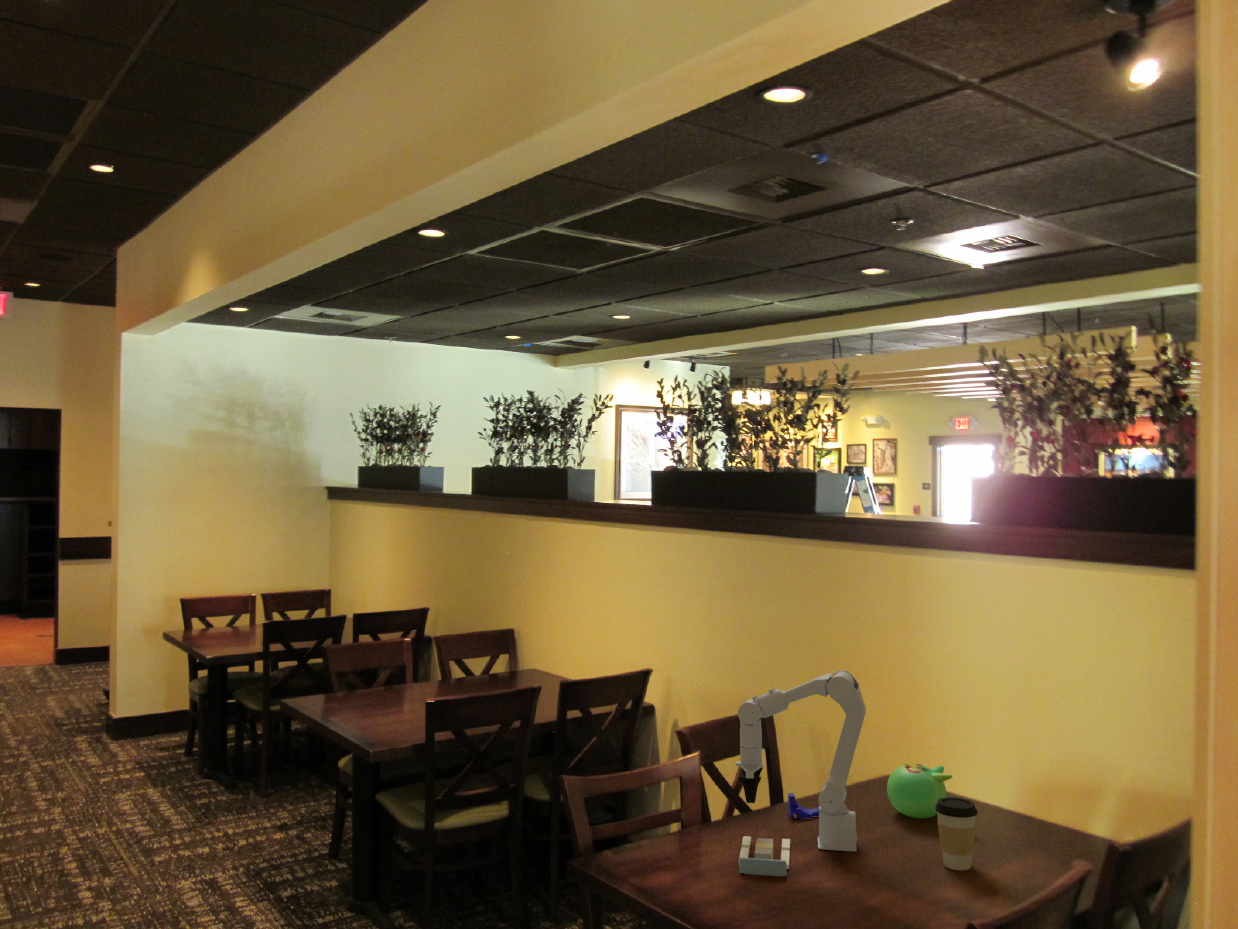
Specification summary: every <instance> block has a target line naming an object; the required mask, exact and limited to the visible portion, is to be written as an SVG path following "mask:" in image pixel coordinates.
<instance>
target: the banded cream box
mask: <svg viewBox="0 0 1238 929" xmlns="http://www.w3.org/2000/svg"><path fill="white" fill-rule="evenodd" d="M754 848H755V849H754V858H758V859H773V860H774V838H764V837H761V838H760V837H757V838H756V843H755V847H754Z"/></svg>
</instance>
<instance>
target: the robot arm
mask: <svg viewBox="0 0 1238 929" xmlns="http://www.w3.org/2000/svg"><path fill="white" fill-rule="evenodd" d="M815 695H819V696H821V697H824V698H827V697H828V695H829V697H830V698H831V699H832V700H833V701H835V703H837V704H838V705H839V706H840V708H842V711H843V712H844V713H845V718H844V721H843V726H842V728H841V732H840V736H839V740H838V743H837V747H836V749H835V750H836V751H835V753H834V758H833V761H832V764H831V768H830V771H829V773H828V774H829V775H828V777H827V780H826V781H825V782H824V783H823V786H822V790H821V792H820V793H819V795H818V804H819V805H818V806H819V817H818V832H819V835H818V836H817V849H818V850H825V851H840V852H841V851H843V852H857V842H858V834H857V820H856V819H857V818H856V811H854V810H849V808H848V807H847V805H846V804H845V800H846V798H847V796H848V788H847V781H848V778H849V775H850V770H851V767H852V762H853V760H854V755H855V753H856V749H857V744H858V742H859V737H860V734H861V731H862V727H863V724H864V721H865V720H864V719H865V717H866V713H867V708H866V704H865V702H864V697H863V696H862V692H861V688H860V684H859V681H858V680H857V679H856V678H855V676H854V675H853V674H852V673H851V672H849V671H847V670H842V669H841V670H837V671H836V672H834V673H833V672H830V673H827V674H824V675H820V676H817V677H816V678H813V679H810V680H808V681H805V682H804V683H801V684H800V685H797V686H795V687H792V688H790V689H787V690H782V689H780V688H777V689H774V688H771V689H768V692H766V693H764V694H762V695H759V696H757V695H754V696H752V698H749V699H746V700H745V701H744V702H743V703H742V704H741V705H740V706H739V707H738V709H737V710H738V711H737V717H738V719H739V722H740V723H739V725H740V728H739V747H740V748H739V751H740V753H739V756H740V758H739V759H740V760H738V761H735V766H737V767H740V768H741V769H742V771H743V774H740V773H739V777H738V778H739V781H740V783H741V784H742V788H743V792H744V798H745V801H746V803H747V804H755V803H756V799H757V793H758V788H759V784H760V782H761V780H762V776H760V775H761V773H762V771H763V769H764V764H763V740H762V738H763V736H762V735H763V734H762V733H763V731H762V730H763V729H762V718H763V719H765V718H766V719H767V718H768V717H771V716H774V715H776V714H779V713H781V712H784V711H787V710H788V708H789V705H790V704H792V703H794V702H797V701H799V700H802V699H806V698H808V697H811V696H815Z"/></svg>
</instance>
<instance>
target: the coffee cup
mask: <svg viewBox="0 0 1238 929" xmlns="http://www.w3.org/2000/svg"><path fill="white" fill-rule="evenodd" d="M935 810H936V811H937V814H936V815H937V827H938V828H937V830H938V834H939V842H940V849H941V852H942V860H943V865H944V867H946V868H947V869H951V870H954V871H967V870H970V869H971V867H972V858H973V854H974V847H975V846H974V844H975V836H976V834H975V832H976V820H977V819H976V818H977V817H976V816H977V815H978V814H979V812H978V808H977V807H976V805H975V803H974V801H971V800H969V799H967V798H961V797H955V796H951V797H950V796H946V797H945V798H941V799H939V800H938V802H937V804H936V806H935Z"/></svg>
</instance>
